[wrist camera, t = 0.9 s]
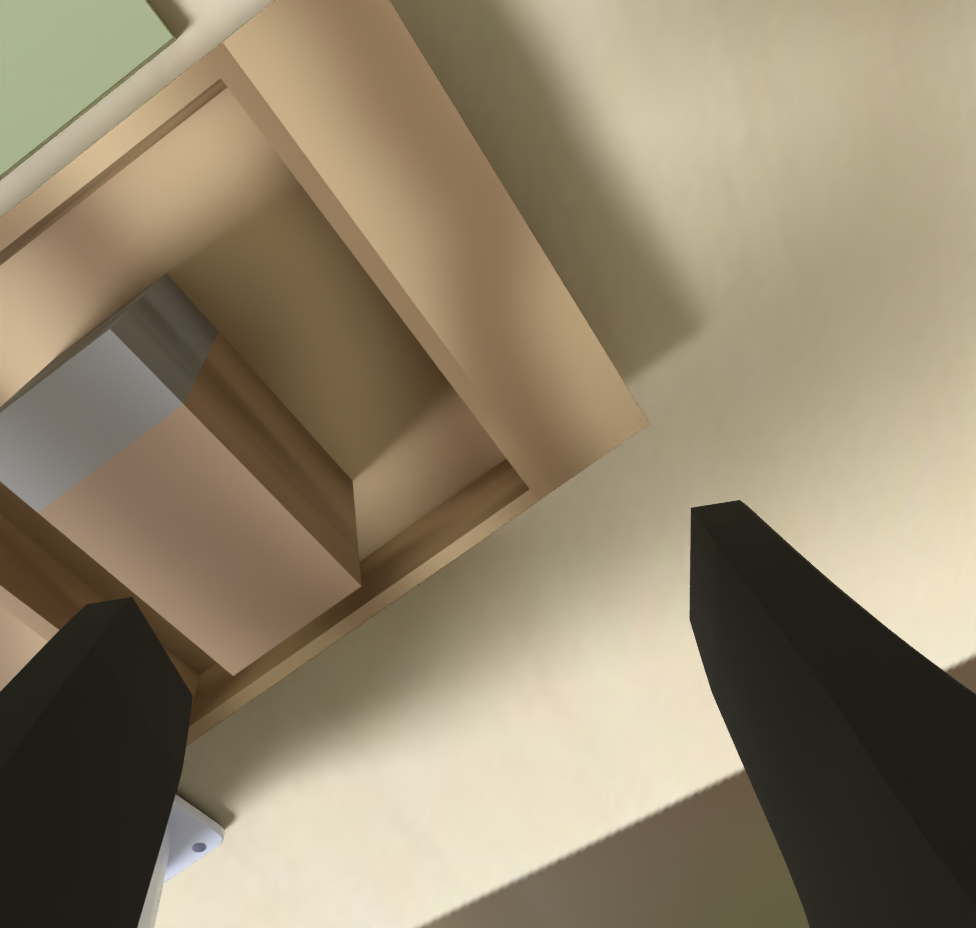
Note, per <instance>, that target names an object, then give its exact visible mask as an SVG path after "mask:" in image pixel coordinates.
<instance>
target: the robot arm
mask: <svg viewBox="0 0 976 928" xmlns="http://www.w3.org/2000/svg"><path fill="white" fill-rule="evenodd" d="M690 622H691V625H692V629H693V632H694V636H695V639H696V642H697V646H698V649H699V652H700V656H701V659H702V662H703V665H704V669H705V672H706V675H707V678H708V681H709V685H710V688H711V691H712V694H713V696H714V698H715V701H716V703H717V705H718V708H719V710H720V712H721V715H722V717H723V719H724V722H725V724H726V726H727V729H728V731H729V733H730V736H731V738H732V740H733V743H734V745H735V747H736V749H737V752H738V754H739V756H740V759H741V761H742V763H743V765H744V768H745V770H746V772H747V774H748V777H749V779H750V781H751V784H752V786H753V788H754V791H755V793H756V795H757V798H758V800H759V802H760V804H761V807H762V809H763V811H764V813H765V816H766V818H767V820H768V822H769V825H770V827H771V829H772V832H773V834H774V836H775V839H776V841H777V843H778V845H779V848H780V850H781V852H782V855H783V857H784V859H785V861H786V864H787V867H788V869H789V872H790V874H791V877H792V879H793V882H794V884H795V887H796V890H797V892H798V895H799V897H800V900H801V903H802V905H803V908H804V911H805V914H806V917H807V920H808V923H809V926H810V928H976V694H975V693H973V692H972V691H970V690H969V689H968V688H966V687H965V686H963V685H962V684H961V683H959V682H958V681H957V680H955V679H954V678H952V677H951V676H950V675H948V674H947V673H946V672H944V671H943V670H942V669H940V668H939V667H938V666H936V665H935V664H934V663H932V662H931V661H930V660H928V659H927V658H926V657H924V656H923V655H922V654H920V653H919V652H918V651H916V650H915V649H914V648H912V647H911V646H910V645H909V644H907V643H906V642H905V641H904V640H902V639H901V638H900V637H898V636H897V635H896V634H895V633H893V632H892V631H891V630H890V629H888V628H887V627H886V626H885V625H883V624H882V623H881V622H880V621H878V620H877V619H876V618H875V617H874V616H872V615H871V614H870V613H869V612H868V611H866V610H865V609H864V608H863V607H861V606H860V605H859V604H858V603H857V602H855V601H854V600H853V599H852V598H850V597H849V596H848V595H847V594H846V593H844V592H843V591H842V590H841V589H840V588H838V587H837V586H836V585H835V584H834V583H833V582H831V581H830V580H829V579H828V578H827V577H826V576H824V575H823V574H822V573H821V572H820V571H819V570H818V569H816V568H815V567H814V566H813V565H812V564H811V563H810V562H809V561H807V560H806V559H805V558H804V557H803V556H802V555H801V554H800V553H798V552H797V551H796V550H795V549H794V548H793V547H792V546H791V545H790V544H788V543H787V542H786V541H785V540H784V539H783V538H782V537H781V536H780V535H779V534H777V533H776V532H775V531H774V530H773V529H772V528H771V527H770V526H769V525H768V524H767V523H765V522H764V521H763V520H762V519H761V518H760V517H759V516H758V515H757V514H756V513H755V512H754V511H752V510H751V509H750V508H749V507H748V506H747V505H745V504H744V503H743V502H741V501H740V500H737V501H731V502H725V503H719V504H712V505H706V506H700V507H693V508H691V548H690ZM192 700H193V695H192V694H191V692H190V690H189V689H188V687H187V685H186V684H185V682H184V681H183V679H182V677H181V676H180V674H179V672H178V671H177V669H176V667H175V666H174V664H173V663H172V661H171V659H170V658H169V656H168V654H167V653H166V651H165V650H164V648H163V646H162V645H161V643H160V641H159V640H158V638H157V636H156V635H155V633H154V632H153V630H152V628H151V627H150V625H149V623H148V622H147V620H146V619H145V617H144V615H143V614H142V612H141V610H140V609H139V607H138V605H137V604H136V602H135V601H134V599H133V597H129V598H123V599H116V600H110V601H104V602H98V603H91V604H86V605H85V606H84V607H83V608H82V609H81V610H80V611H79V612H78V613H77V614H76V615H75V616H73V617H72V618H71V619H70V620H69V621H68V622H67V623H66V624H65V625H64V626H63V627H62V628H61V629H60V630H59V631H58V632H57V633H56V634H55V635H54V636H53V637H52V638H51V639H50V640H49V641H48V642H47V643H46V644H45V646H44V647H43V648H42V649H41V650H40V651H39V652H38V653H37V654H36V655H35V656H34V657H33V658H32V659H31V660H30V661H29V662H28V663H27V664H26V665H25V666H24V667H23V668H22V669H21V670H20V671H19V673H18V674H17V675H16V676H15V677H14V678H13V679H12V680H11V681H10V682H9V683H8V684H7V685H6V686H5V687H4V688H3V689H2V690H1V691H0V928H154V926H155V921H156V916H157V911H158V907H159V902H160V897H161V892H162V887H163V883H165V882H166V881H168V880H169V879H171V878H172V877H173V876H175V875H176V874H178V873H179V872H181V871H182V870H184V869H185V868H187V867H188V866H190V865H191V864H193V863H194V862H196V861H197V860H199V859H200V858H202V857H203V856H204V855H206V854H207V853H209V852H210V851H212V850H213V849H215V848H216V847H218V846H219V845H220V844H221V843H222V842H223V839H224V829H223V828H222V827H221V826H220V825H219V824H218V823H216V822H215V821H213V820H212V819H210V818H209V817H208V816H206V815H205V814H203V813H202V812H200V811H199V810H198V809H196V808H195V807H193V806H192V805H190V804H189V803H188V802H186V801H185V800H183V799H182V798H180V797H179V796H178V795H176V791H177V788H178V784H179V780H180V777H181V773H182V767H183V761H184V755H185V749H186V743H187V737H188V730H189V722H190V715H191V707H192Z"/></svg>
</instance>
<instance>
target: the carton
mask: <svg viewBox="0 0 976 928" xmlns="http://www.w3.org/2000/svg"><path fill="white" fill-rule="evenodd" d="M166 273H167V275H168V276H169V277H170V278H171V279H172V280H173V281H174V282H175V284H176V285H177V286H178V287H179V288H180V289H181V290H182V291H183V292H184V294H185V295H186V296H187V297H188V298H189V299H190V300H191V301H192V302H193V304H194V305H195V306H196V307H197V308H198V309H199V310H200V311H201V313H202V314H203V315H204V316H205V317H206V318H207V319H208V320H209V321H210V323H211V324H212V325H213V326H214V327H215V328H216V329H217V330H218V331H219V333H220V334H221V335H222V336H223V337H224V338H225V339H226V340H227V341H228V343H229V344H230V345H231V346H232V347H233V348H234V349H235V350H236V352H237V353H238V354H239V355H240V356H241V357H242V358H243V359H244V360H245V362H246V363H247V364H248V365H249V366H250V367H251V368H252V369H253V370H254V372H255V373H256V374H257V375H258V376H259V377H260V378H261V379H262V381H263V382H264V383H265V384H266V385H267V386H268V387H269V388H270V389H271V391H272V392H273V393H274V394H275V395H276V396H277V397H278V398H279V399H280V401H281V402H282V403H283V404H284V405H285V406H286V407H287V408H288V409H289V411H290V412H291V413H292V414H293V415H294V416H295V417H296V418H297V420H298V421H299V422H300V423H301V424H302V425H303V426H304V427H305V428H306V430H307V431H308V432H309V433H310V434H311V435H312V436H313V437H314V438H315V440H316V441H317V442H318V443H319V444H320V445H321V446H322V447H323V449H324V450H325V451H326V452H327V453H328V454H329V455H330V456H331V457H332V459H333V460H334V461H335V462H336V463H337V464H338V465H339V466H340V467H341V469H342V470H343V471H344V472H345V473H346V474H347V475H348V476H349V477H350V479H351V480H352V481H353V491H354V503H355V515H356V527H357V539H358V551H359V563H360V575H361V587H360V588H358V589H357V590H355V591H354V592H353V593H351V594H350V595H348V596H347V597H345V598H344V599H343V600H341V601H340V602H338V603H337V604H335V605H334V606H333V607H331V608H330V609H328V610H327V611H325V612H324V613H323V614H321V615H320V616H318V617H317V618H315V619H314V620H313V621H311V622H310V623H308V624H307V625H305V626H304V627H303V628H301V629H300V630H298V631H297V632H295V633H294V634H293V635H291V636H290V637H288V638H287V639H285V640H284V641H283V642H281V643H280V644H278V645H277V646H275V647H274V648H273V649H271V650H270V651H268V652H267V653H265V654H264V655H263V656H261V657H260V658H258V659H257V660H255V661H254V662H253V663H251V664H250V665H248V666H247V667H245V668H244V669H243V670H241V671H240V672H238V673H237V674H235V675H234V676H233V675H232V674H230V673H229V672H228V671H227V670H226V669H224V668H223V667H222V666H221V665H220V664H218V663H217V662H216V661H215V660H214V659H212V658H211V657H210V656H209V655H208V654H206V653H205V652H204V651H203V650H202V649H200V648H199V647H198V646H197V645H196V644H194V643H193V642H192V641H191V640H190V639H188V638H187V637H186V636H185V635H184V634H182V633H181V632H180V631H179V630H178V629H176V628H175V627H174V626H173V625H172V624H170V623H169V622H168V621H167V620H166V619H164V618H163V617H162V616H161V615H160V614H159V613H157V612H156V611H155V610H154V609H153V608H151V607H150V606H149V605H148V604H147V603H145V602H144V601H143V600H142V599H141V598H139V597H138V596H137V595H136V594H135V593H133V592H132V591H131V590H130V589H129V588H127V587H126V586H125V585H124V584H123V583H121V582H120V581H119V580H118V579H117V578H115V577H114V576H113V575H112V574H111V573H109V572H108V571H107V570H106V569H105V568H103V567H102V566H101V565H100V564H99V563H97V562H96V561H95V560H94V559H93V558H91V557H90V556H89V555H88V554H87V553H85V552H84V551H83V550H82V549H81V548H79V547H78V546H77V545H76V544H75V543H73V542H72V541H71V540H70V539H69V538H67V537H66V536H65V535H64V534H63V533H61V532H60V531H59V530H58V529H57V528H55V527H54V526H53V525H52V524H51V523H50V522H48V521H47V520H46V519H45V518H44V517H42V516H41V515H40V514H39V513H38V512H36V511H35V510H34V509H33V508H32V507H30V506H29V505H28V504H27V503H26V502H24V501H23V500H22V499H21V498H20V497H18V496H17V495H16V494H15V493H14V492H12V491H11V490H10V489H9V488H8V487H6V486H5V485H4V484H3V483H2V482H0V691H1V690H2V689H3V688H4V687H5V686H6V685H7V684H8V683H9V682H10V681H11V680H12V679H13V678H14V677H15V676H16V675H17V674H18V673H19V671H20V670H21V669H22V668H23V667H24V666H25V665H26V664H27V663H28V662H29V661H30V660H31V659H32V658H33V657H34V656H35V655H36V654H37V653H38V652H39V651H40V650H41V649H42V648H43V647H44V646H45V644H46V643H47V642H48V641H49V640H50V639H51V638H52V637H53V636H54V635H55V634H56V633H57V632H58V631H59V630H60V629H61V628H62V627H63V626H64V625H65V624H66V623H67V622H68V621H69V620H70V619H71V618H72V617H73V616H75V615H76V614H77V613H78V612H79V611H80V610H81V609H82V608H83V607H84V606H85V605H86V604H91V603H98V602H104V601H110V600H116V599H123V598H129V597H133V599H134V601H135V602H136V604H137V605H138V607H139V609H140V610H141V612H142V614H143V615H144V617H145V619H146V620H147V622H148V623H149V625H150V627H151V628H152V630H153V632H154V633H155V635H156V636H157V638H158V640H159V641H160V643H161V645H162V646H163V648H164V650H165V651H166V653H167V654H168V656H169V658H170V659H171V661H172V663H173V664H174V666H175V667H176V669H177V671H178V672H179V674H180V676H181V677H182V679H183V681H184V682H185V684H186V685H187V687H188V689H189V690H190V692H191V694H192V695H193V700H192V707H191V715H190V722H189V730H188V737H187V743H186V745H188V744H189V743H191V742H192V741H194V740H195V739H197V738H198V737H199V736H201V735H202V734H204V733H205V732H207V731H208V730H210V729H211V728H212V727H214V726H215V725H217V724H218V723H220V722H221V721H222V720H224V719H225V718H227V717H228V716H230V715H231V714H233V713H234V712H235V711H237V710H238V709H240V708H241V707H243V706H244V705H245V704H247V703H248V702H250V701H251V700H253V699H254V698H256V697H257V696H258V695H260V694H261V693H263V692H264V691H266V690H267V689H269V688H270V687H271V686H273V685H274V684H276V683H277V682H279V681H280V680H281V679H283V678H284V677H286V676H287V675H289V674H290V673H292V672H293V671H294V670H296V669H297V668H299V667H300V666H302V665H303V664H304V663H306V662H307V661H309V660H310V659H312V658H313V657H315V656H316V655H317V654H319V653H320V652H322V651H323V650H325V649H326V648H327V647H329V646H330V645H332V644H333V643H335V642H336V641H338V640H339V639H340V638H342V637H343V636H345V635H346V634H348V633H349V632H351V631H352V630H353V629H355V628H356V627H358V626H359V625H361V624H362V623H363V622H365V621H366V620H368V619H369V618H371V617H372V616H374V615H375V614H376V613H378V612H379V611H381V610H382V609H384V608H385V607H386V606H388V605H389V604H391V603H392V602H394V601H395V600H397V599H398V598H399V597H401V596H402V595H404V594H405V593H407V592H408V591H410V590H411V589H412V588H414V587H415V586H417V585H418V584H420V583H421V582H422V581H424V580H425V579H427V578H428V577H430V576H431V575H433V574H434V573H435V572H437V571H438V570H440V569H441V568H443V567H444V566H445V565H447V564H448V563H450V562H451V561H453V560H454V559H456V558H457V557H458V556H460V555H461V554H463V553H464V552H466V551H467V550H469V549H470V548H471V547H473V546H474V545H476V544H477V543H479V542H480V541H481V540H483V539H484V538H486V537H487V536H489V535H490V534H492V533H493V532H494V531H496V530H497V529H499V528H500V527H502V526H503V525H504V524H506V523H507V522H509V521H510V520H512V519H513V518H515V517H516V516H517V515H519V514H520V513H522V512H523V511H525V510H526V509H528V508H529V507H530V506H532V505H533V504H535V503H536V502H538V501H539V500H540V499H542V498H543V497H545V496H546V495H548V494H549V493H551V492H552V491H553V490H555V489H556V488H558V487H559V486H561V485H562V484H563V483H565V482H566V481H568V480H569V479H571V478H572V477H574V476H575V475H576V474H578V473H579V472H581V471H582V470H584V469H585V468H587V467H588V466H589V465H591V464H592V463H594V462H595V461H597V460H598V459H599V458H601V457H602V456H604V455H605V454H607V453H608V452H610V451H611V450H612V449H614V448H615V447H617V446H618V445H620V444H621V443H622V442H624V441H625V440H627V439H628V438H630V437H631V436H633V435H634V434H635V433H637V432H638V431H640V430H641V429H643V428H644V427H646V426H647V425H648V424H649V422H648V420H647V419H646V417H645V415H644V414H643V412H642V411H641V409H640V407H639V406H638V404H637V402H636V401H635V399H634V398H633V396H632V394H631V393H630V391H629V389H628V388H627V386H626V385H625V383H624V381H623V380H622V378H621V376H620V375H619V373H618V371H617V370H616V368H615V367H614V365H613V363H612V362H611V360H610V358H609V357H608V355H607V354H606V352H605V350H604V349H603V347H602V345H601V344H600V342H599V341H598V339H597V337H596V336H595V334H594V332H593V331H592V329H591V328H590V326H589V324H588V323H587V321H586V319H585V318H584V316H583V314H582V313H581V311H580V310H579V308H578V306H577V305H576V303H575V301H574V300H573V298H572V297H571V295H570V293H569V292H568V290H567V288H566V287H565V285H564V284H563V282H562V280H561V279H560V277H559V275H558V274H557V272H556V271H555V269H554V267H553V266H552V264H551V262H550V261H549V259H548V257H547V256H546V254H545V253H544V251H543V249H542V248H541V246H540V244H539V243H538V241H537V240H536V238H535V236H534V235H533V233H532V231H531V230H530V228H529V227H528V225H527V223H526V222H525V220H524V218H523V217H522V215H521V214H520V212H519V210H518V209H517V207H516V205H515V204H514V202H513V201H512V199H511V197H510V196H509V194H508V192H507V191H506V189H505V187H504V186H503V184H502V183H501V181H500V179H499V178H498V176H497V174H496V173H495V171H494V170H493V168H492V166H491V165H490V163H489V161H488V160H487V158H486V157H485V155H484V153H483V152H482V150H481V148H480V147H479V145H478V144H477V142H476V140H475V139H474V137H473V135H472V134H471V132H470V130H469V129H468V127H467V126H466V124H465V122H464V121H463V119H462V117H461V116H460V114H459V113H458V111H457V109H456V108H455V106H454V104H453V103H452V101H451V100H450V98H449V96H448V95H447V93H446V91H445V90H444V88H443V87H442V85H441V83H440V82H439V80H438V78H437V77H436V75H435V73H434V72H433V70H432V69H431V67H430V65H429V64H428V62H427V60H426V59H425V57H424V56H423V54H422V52H421V51H420V49H419V47H418V46H417V44H416V43H415V41H414V39H413V38H412V36H411V34H410V33H409V31H408V30H407V28H406V26H405V25H404V23H403V21H402V20H401V18H400V16H399V15H398V13H397V12H396V10H395V8H394V7H393V5H392V3H391V2H390V0H275V1H274V2H272V3H271V4H270V5H269V6H267V7H266V8H265V9H264V10H262V11H261V12H260V13H259V14H257V15H256V16H255V17H254V18H252V19H251V20H250V21H248V22H247V23H246V24H245V25H243V26H242V27H241V28H240V29H238V30H237V31H236V32H235V33H233V34H232V35H231V36H230V37H228V38H227V39H226V40H225V41H223V42H222V43H221V44H219V45H218V46H217V47H216V48H214V49H213V50H212V51H211V52H209V53H208V54H207V55H206V56H204V57H203V58H202V59H201V60H199V61H198V62H197V63H195V64H194V65H193V66H192V67H190V68H189V69H188V70H187V71H185V72H184V73H183V74H182V75H180V76H179V77H178V78H177V79H175V80H174V81H173V82H172V83H170V84H169V85H168V86H166V87H165V88H164V89H163V90H161V91H160V92H159V93H158V94H156V95H155V96H154V97H153V98H151V99H150V100H149V101H148V102H146V103H145V104H144V105H143V106H141V107H140V108H139V109H137V110H136V111H135V112H134V113H132V114H131V115H130V116H129V117H127V118H126V119H125V120H124V121H122V122H121V123H120V124H119V125H117V126H116V127H115V128H113V129H112V130H111V131H110V132H108V133H107V134H106V135H105V136H103V137H102V138H101V139H100V140H98V141H97V142H96V143H95V144H93V145H92V146H91V147H90V148H88V149H87V150H86V151H84V152H83V153H82V154H81V155H79V156H78V157H77V158H76V159H74V160H73V161H72V162H71V163H69V164H68V165H67V166H66V167H64V168H63V169H62V170H61V171H59V172H58V173H57V174H55V175H54V176H53V177H52V178H50V179H49V180H48V181H47V182H45V183H44V184H43V185H42V186H40V187H39V188H38V189H37V190H35V191H34V192H33V193H31V194H30V195H29V196H28V197H26V198H25V199H24V200H23V201H21V202H20V203H19V204H18V205H16V206H15V207H14V208H13V209H11V210H10V211H9V212H8V213H6V214H5V215H4V216H2V217H1V218H0V407H1V406H2V405H3V404H4V403H5V402H6V401H8V400H9V399H10V398H11V397H12V396H13V395H14V394H15V393H17V392H18V391H19V390H20V389H21V388H22V387H23V386H24V385H25V384H27V383H28V382H29V381H30V380H31V379H32V378H33V377H34V376H36V375H37V374H38V373H39V372H40V371H41V370H42V369H43V368H44V367H46V366H47V365H48V364H49V363H50V362H51V361H52V360H54V359H55V358H56V357H57V356H59V355H60V354H61V353H63V352H64V351H65V350H67V349H68V348H69V347H71V346H72V345H73V344H74V343H76V342H77V341H78V340H80V339H81V338H82V337H84V336H85V335H86V334H87V333H89V332H90V331H91V330H93V329H94V328H95V327H97V326H98V325H99V324H101V323H102V322H103V321H104V320H106V319H107V318H108V317H110V316H111V315H112V314H114V313H115V312H116V311H118V310H119V309H120V308H121V307H123V306H124V305H125V304H127V303H128V302H129V301H131V300H132V299H133V298H135V297H136V296H137V295H138V294H140V293H141V292H142V291H144V290H145V289H146V288H148V287H149V286H150V285H151V284H153V283H154V282H155V281H157V280H158V279H159V278H161V277H162V276H163V275H165V274H166Z"/></svg>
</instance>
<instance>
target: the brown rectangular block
mask: <svg viewBox="0 0 976 928" xmlns="http://www.w3.org/2000/svg"><path fill="white" fill-rule="evenodd" d="M0 482H2V483H3V484H4V485H5V486H6V487H8V488H9V489H10V490H11V491H12V492H14V493H15V494H16V495H17V496H18V497H20V498H21V499H22V500H23V501H24V502H26V503H27V504H28V505H29V506H30V507H32V508H33V509H34V510H35V511H36V512H38V513H39V514H40V515H41V516H42V517H44V518H45V519H46V520H47V521H48V522H50V523H51V524H52V525H53V526H54V527H55V528H57V529H58V530H59V531H60V532H61V533H63V534H64V535H65V536H66V537H67V538H69V539H70V540H71V541H72V542H73V543H75V544H76V545H77V546H78V547H79V548H81V549H82V550H83V551H84V552H85V553H87V554H88V555H89V556H90V557H91V558H93V559H94V560H95V561H96V562H97V563H99V564H100V565H101V566H102V567H103V568H105V569H106V570H107V571H108V572H109V573H111V574H112V575H113V576H114V577H115V578H117V579H118V580H119V581H120V582H121V583H123V584H124V585H125V586H126V587H127V588H129V589H130V590H131V591H132V592H133V593H135V594H136V595H137V596H138V597H139V598H141V599H142V600H143V601H144V602H145V603H147V604H148V605H149V606H150V607H151V608H153V609H154V610H155V611H156V612H157V613H159V614H160V615H161V616H162V617H163V618H164V619H166V620H167V621H168V622H169V623H170V624H172V625H173V626H174V627H175V628H176V629H178V630H179V631H180V632H181V633H182V634H184V635H185V636H186V637H187V638H188V639H190V640H191V641H192V642H193V643H194V644H196V645H197V646H198V647H199V648H200V649H202V650H203V651H204V652H205V653H206V654H208V655H209V656H210V657H211V658H212V659H214V660H215V661H216V662H217V663H218V664H220V665H221V666H222V667H223V668H224V669H226V670H227V671H228V672H229V673H230V674H232V675H233V676H234V675H235V674H237V673H238V672H240V671H241V670H243V669H244V668H245V667H247V666H248V665H250V664H251V663H253V662H254V661H255V660H257V659H258V658H260V657H261V656H263V655H264V654H265V653H267V652H268V651H270V650H271V649H273V648H274V647H275V646H277V645H278V644H280V643H281V642H283V641H284V640H285V639H287V638H288V637H290V636H291V635H293V634H294V633H295V632H297V631H298V630H300V629H301V628H303V627H304V626H305V625H307V624H308V623H310V622H311V621H313V620H314V619H315V618H317V617H318V616H320V615H321V614H323V613H324V612H325V611H327V610H328V609H330V608H331V607H333V606H334V605H335V604H337V603H338V602H340V601H341V600H343V599H344V598H345V597H347V596H348V595H350V594H351V593H353V592H354V591H355V590H357V589H358V588H360V587H361V575H360V563H359V551H358V539H357V527H356V515H355V503H354V491H353V481H352V480H351V479H350V477H349V476H348V475H347V474H346V473H345V472H344V471H343V470H342V469H341V467H340V466H339V465H338V464H337V463H336V462H335V461H334V460H333V459H332V457H331V456H330V455H329V454H328V453H327V452H326V451H325V450H324V449H323V447H322V446H321V445H320V444H319V443H318V442H317V441H316V440H315V438H314V437H313V436H312V435H311V434H310V433H309V432H308V431H307V430H306V428H305V427H304V426H303V425H302V424H301V423H300V422H299V421H298V420H297V418H296V417H295V416H294V415H293V414H292V413H291V412H290V411H289V409H288V408H287V407H286V406H285V405H284V404H283V403H282V402H281V401H280V399H279V398H278V397H277V396H276V395H275V394H274V393H273V392H272V391H271V389H270V388H269V387H268V386H267V385H266V384H265V383H264V382H263V381H262V379H261V378H260V377H259V376H258V375H257V374H256V373H255V372H254V370H253V369H252V368H251V367H250V366H249V365H248V364H247V363H246V362H245V360H244V359H243V358H242V357H241V356H240V355H239V354H238V353H237V352H236V350H235V349H234V348H233V347H232V346H231V345H230V344H229V343H228V341H227V340H226V339H225V338H224V337H223V336H222V335H221V334H220V333H219V331H218V330H217V329H216V328H215V327H214V326H213V325H212V324H211V323H210V321H209V320H208V319H207V318H206V317H205V316H204V315H203V314H202V313H201V311H200V310H199V309H198V308H197V307H196V306H195V305H194V304H193V302H192V301H191V300H190V299H189V298H188V297H187V296H186V295H185V294H184V292H183V291H182V290H181V289H180V288H179V287H178V286H177V285H176V284H175V282H174V281H173V280H172V279H171V278H170V277H169V276H168V275H167V273H166V274H165V275H163V276H162V277H161V278H159V279H158V280H157V281H155V282H154V283H153V284H151V285H150V286H149V287H148V288H146V289H145V290H144V291H142V292H141V293H140V294H138V295H137V296H136V297H135V298H133V299H132V300H131V301H129V302H128V303H127V304H125V305H124V306H123V307H121V308H120V309H119V310H118V311H116V312H115V313H114V314H112V315H111V316H110V317H108V318H107V319H106V320H104V321H103V322H102V323H101V324H99V325H98V326H97V327H95V328H94V329H93V330H91V331H90V332H89V333H87V334H86V335H85V336H84V337H82V338H81V339H80V340H78V341H77V342H76V343H74V344H73V345H72V346H71V347H69V348H68V349H67V350H65V351H64V352H63V353H61V354H60V355H59V356H57V357H56V358H55V359H54V360H52V361H51V362H50V363H49V364H48V365H47V366H46V367H44V368H43V369H42V370H41V371H40V372H39V373H38V374H37V375H36V376H34V377H33V378H32V379H31V380H30V381H29V382H28V383H27V384H25V385H24V386H23V387H22V388H21V389H20V390H19V391H18V392H17V393H15V394H14V395H13V396H12V397H11V398H10V399H9V400H8V401H6V402H5V403H4V404H3V405H2V406H1V407H0Z"/></svg>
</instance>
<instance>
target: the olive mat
mask: <svg viewBox="0 0 976 928" xmlns="http://www.w3.org/2000/svg"><path fill="white" fill-rule="evenodd" d="M175 40H176V38H175V37H174V35H173V34H172V33H171V31H170V30H169V29H168V28H167V26H166V25H165V24H164V22H163V21H162V20H161V18H160V17H159V16H158V14H157V13H156V12H155V10H154V9H153V8H152V6H151V5H150V4H149V3H148V1H147V0H0V180H1V179H2V178H4V177H5V176H6V175H7V174H9V173H10V172H11V171H12V170H14V169H15V168H16V167H17V166H19V165H20V164H21V163H22V162H24V161H25V160H26V159H27V158H29V157H30V156H31V155H32V154H34V153H35V152H36V151H37V150H39V149H40V148H41V147H42V146H44V145H45V144H46V143H47V142H49V141H50V140H51V139H52V138H54V137H55V136H56V135H57V134H59V133H60V132H61V131H62V130H64V129H65V128H66V127H67V126H69V125H70V124H71V123H72V122H74V121H75V120H76V119H77V118H79V117H80V116H81V115H82V114H84V113H85V112H86V111H88V110H89V109H90V108H91V107H93V106H94V105H95V104H96V103H98V102H99V101H100V100H101V99H103V98H104V97H105V96H106V95H108V94H109V93H110V92H111V91H113V90H114V89H115V88H116V87H118V86H119V85H120V84H121V83H123V82H124V81H125V80H126V79H128V78H129V77H130V76H131V75H133V74H134V73H135V72H136V71H138V70H139V69H140V68H141V67H143V66H144V65H145V64H146V63H148V62H149V61H150V60H151V59H153V58H154V57H155V56H156V55H158V54H159V53H160V52H161V51H163V50H164V49H165V48H166V47H168V46H169V45H170V44H171V43H173V42H174V41H175Z"/></svg>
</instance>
